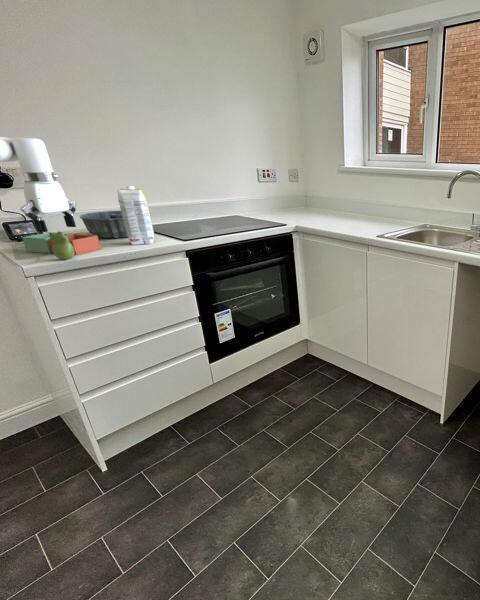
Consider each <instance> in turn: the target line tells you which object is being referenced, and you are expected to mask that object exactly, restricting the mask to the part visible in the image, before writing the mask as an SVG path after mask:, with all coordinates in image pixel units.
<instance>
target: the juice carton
mask: <svg viewBox="0 0 480 600" xmlns="http://www.w3.org/2000/svg"><path fill="white" fill-rule="evenodd" d="M117 200H118V205H119V209H120V211H121V213H122V217H123V220H124V224H125V228H126V232H127V236H128V237H127V238H128V240H129V243H130V244H131V245H132V246H135V245H136V246H137V245H152V244H153V243H154V240H155V231H154V226H153V221H152V218H151V212H150V209H149V203H148V201H147V200H148V199H147V196H146V194H145V191H144V190H143V188H135V186H133V185H126V188H120V189H118V190H117Z"/></svg>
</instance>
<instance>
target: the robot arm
mask: <svg viewBox="0 0 480 600" xmlns="http://www.w3.org/2000/svg"><path fill="white" fill-rule="evenodd" d="M0 162H3V163H7V162H18V164H19V167H20V169H21V172H22V175H23V178H24V181H25V182H23V194H24V198H25V204H24V205H22V206H21V207H20V208H19V210H20V211H21V212H22V213H23V214H24V215H25V216H26V217H27V218H29V219H30V220H31V221H33V222H34V226H35V228H36V230H37V232H38V233H49V232H48V231H49V230H48V227H47V225H46V221H45V219H43V218H44V216H45V215H46V214H47V215H48V214H55V213H62V214H63V219H64V223H65V225H66V227H67V228H77V225H76V222H75V217H74V216H75V213H76V210H77V209H76V207H77V203H76V202H75V201H73V200H70V199H68V198H67V195H66V194H65V191H64V189H63V187H62V185H61V184H60V183H59V181H57V179H58V174H57V173H55V171H54V168H53V166H52V163H51V160H50V156H49V152H48V150H47V147H46V143H45V142H44V141H43V140H42V139H40V138H36V137H6V136H0Z"/></svg>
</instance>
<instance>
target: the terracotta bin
mask: <svg viewBox="0 0 480 600" xmlns="http://www.w3.org/2000/svg"><path fill="white" fill-rule="evenodd" d="M67 237H68V239H69V242H70V243H71V244H72V245H73V247H74V256H78V255H83V254H87V253H91V252H96V251H99V250H102V247H101V243H100V240H99V237H98V236H97V235H92V234H82V233H81V234H79V233H72V235H67ZM49 242H50V245H51V248H52V251H53V242H52V241H51V240H50V239H49ZM52 254H54V252H53V253H52Z"/></svg>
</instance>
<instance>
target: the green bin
mask: <svg viewBox="0 0 480 600" xmlns="http://www.w3.org/2000/svg"><path fill="white" fill-rule="evenodd" d="M53 233H54V232H50V231H49V232H43V233H38V234H33V235H26V236H21V239H22V242H23V244H24V247H25V250H26V252H29V253H40V254H41V253H44V254H54V253H53V251H52V248H51V245H50V242H49V239H50V235H52V234H53ZM63 233H64V235H66V236H67V235H73V233H65V232H63Z"/></svg>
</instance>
